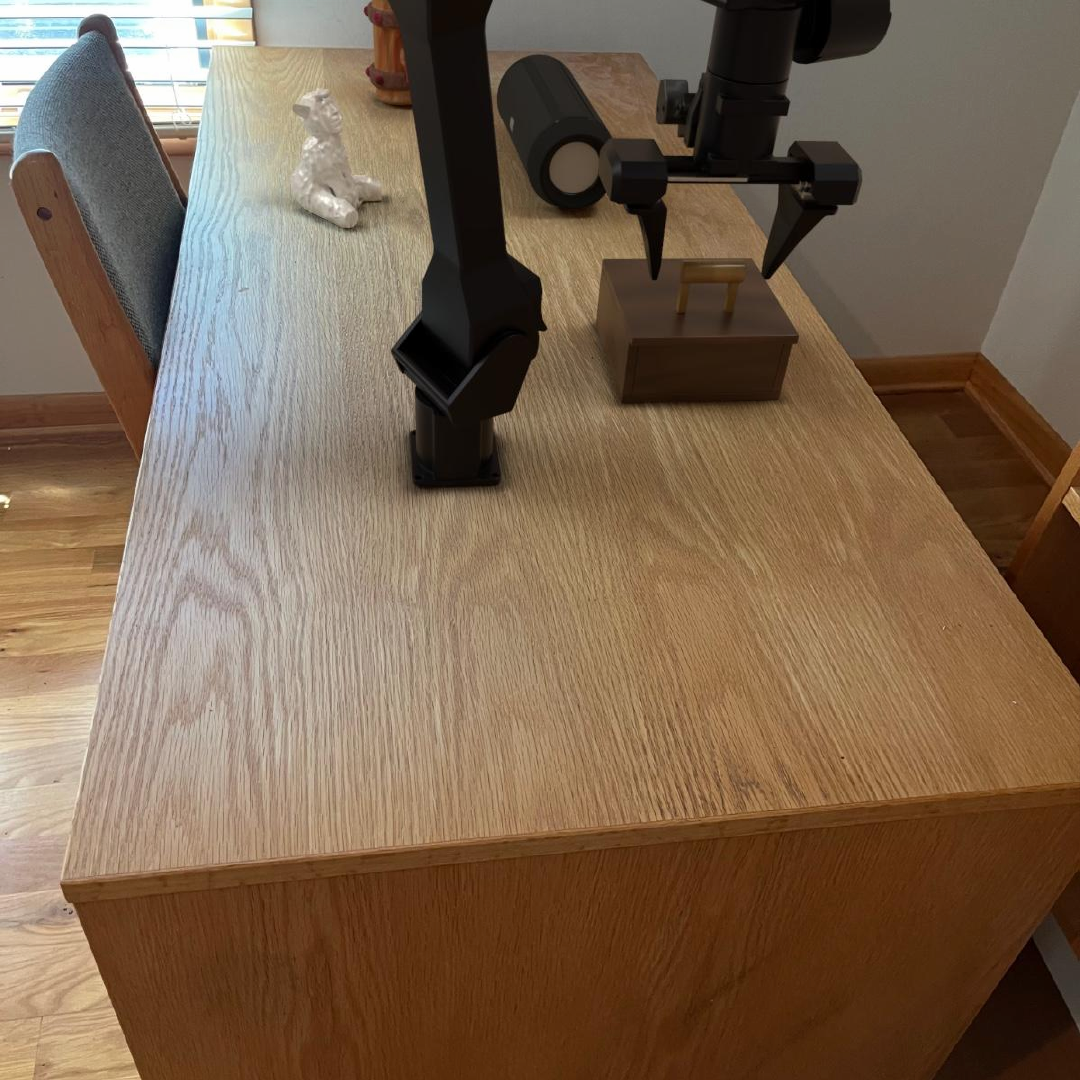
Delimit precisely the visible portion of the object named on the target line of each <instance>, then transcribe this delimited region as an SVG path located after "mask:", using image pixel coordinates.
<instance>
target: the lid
mask: <svg viewBox="0 0 1080 1080" xmlns="http://www.w3.org/2000/svg"><path fill="white" fill-rule="evenodd" d="M602 268H603V271H604V274H605V276H606V279H607V282H608V284H609V287H610V290H611V292H612V295H613V298H614V300H615V303H616V306H617V309H618V311H619V314H620V317H621V319H622V322H623V325H624V327H625V330H626V333H627V335H628V338H629V341H630V343H631V346H684V345H746V344H793V345H796V344H798V342H799V339H800V334H799V332H798V330H797V329H796V327H795V326H794V324H793V322H792V321H791V319H790V318H789V316H788V314H787V312H786V311H785V310H784V308H783V306H782V305H781V303H780V301H779V299H778V298H777V296H776V294H775V293H774V291H773V290H772V288H771V287H770V285H769V284H768V282H767V280H765V279H764V278H763V276H762V274H761V270H760V269H759V267H758V265H757V263H756V262H755V260H754V259H753V258H752V257H706V258H705V257H704V258H702V257H697V258H696V257H695V258H691V257H690V258H677V257H675V258H673V257H672V258H669V257H668V258H662V261H661V268H660V271H659V275H658V278H657V280H652V279H651V277H650V274H649V269H648V264H647V259H646V258H602V261H601V269H602Z"/></svg>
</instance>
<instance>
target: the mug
mask: <svg viewBox="0 0 1080 1080" xmlns="http://www.w3.org/2000/svg"><path fill="white" fill-rule="evenodd" d="M363 13H364V15H365V16H366V17H367V18H368V20H369V22H370V23H371V24H372V35H373V51H374V52H373V53H374V57H373V58H374V62H372V63H371V64H370V65H369V66H367V68H366V69H365V74H366V76H367V77H368V78H369V80H370V81H369V82H370V83H371V84H372V85H373V86H374V87H375V92H376V95H377V98H378V100H379V101H381V102H382V103H385V104H388V105H392V106H395V105H397V106H405V105H406V106H407V105H409V106H410V105H412V103H411V96H410V90H409V83H408V77H407V70H406V64H405V57H404V51H403V44H402V37H401V31H400V27H399V24H398V21H397V19H396V17H395V15H394V13H393V11H392V9H391V7H390V5H389V3H388V1H387V0H371V1H369V2H368V3H367V5H366V6H364V7H363Z"/></svg>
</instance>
